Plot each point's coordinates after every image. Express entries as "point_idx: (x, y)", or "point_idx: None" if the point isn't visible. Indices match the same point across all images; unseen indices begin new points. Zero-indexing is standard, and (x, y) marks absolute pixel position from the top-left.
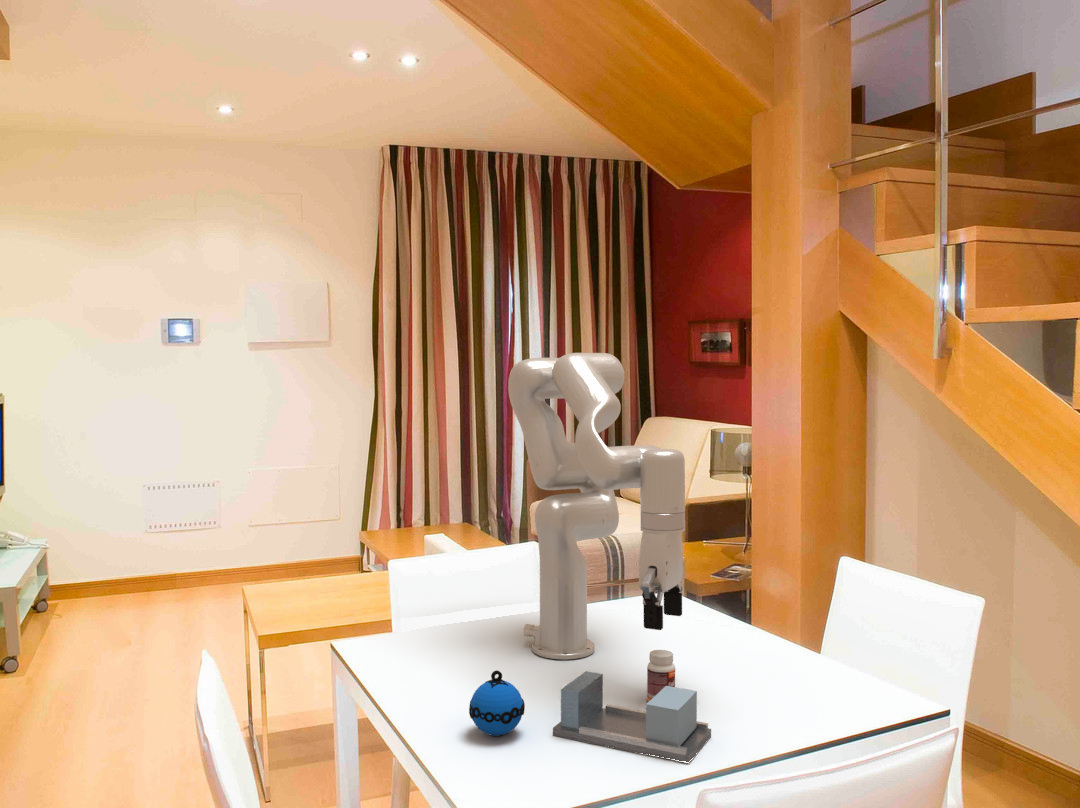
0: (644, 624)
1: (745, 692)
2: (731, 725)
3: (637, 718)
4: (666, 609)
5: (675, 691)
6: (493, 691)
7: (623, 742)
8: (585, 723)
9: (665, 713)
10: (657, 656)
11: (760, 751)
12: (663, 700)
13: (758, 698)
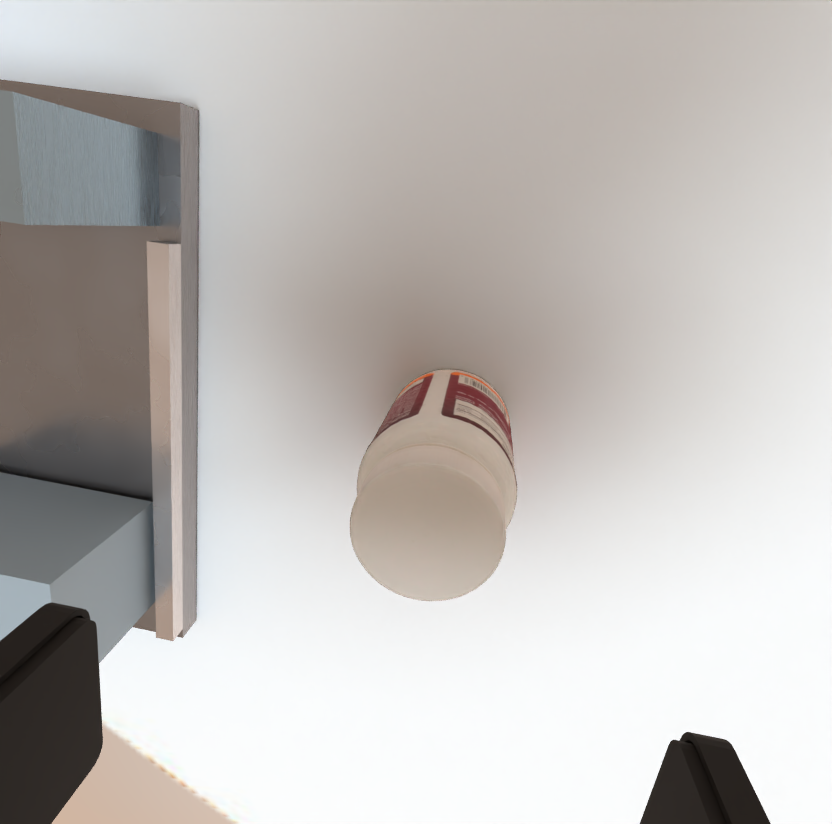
0: (26, 625)
1: (650, 711)
2: (311, 670)
3: (147, 392)
4: (682, 810)
5: (8, 627)
6: None
7: None
8: None
9: None
10: (351, 522)
11: (164, 737)
12: None
13: (595, 747)
